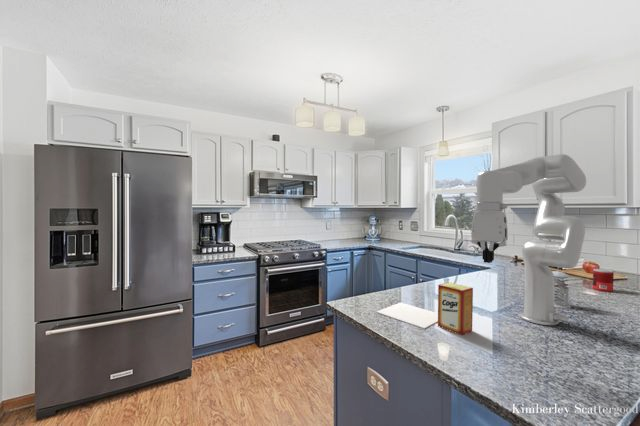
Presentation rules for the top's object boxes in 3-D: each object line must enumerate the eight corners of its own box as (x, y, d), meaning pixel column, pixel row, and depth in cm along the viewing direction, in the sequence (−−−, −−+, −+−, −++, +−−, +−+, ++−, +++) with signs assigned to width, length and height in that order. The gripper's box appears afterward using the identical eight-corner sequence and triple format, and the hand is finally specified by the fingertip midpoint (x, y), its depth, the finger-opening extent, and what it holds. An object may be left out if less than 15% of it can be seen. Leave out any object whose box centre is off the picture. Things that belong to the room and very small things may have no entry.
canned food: (617, 292, 154) (617, 271, 154) (602, 292, 154) (602, 271, 154) (603, 288, 162) (603, 268, 161) (588, 288, 162) (589, 268, 162)
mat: (447, 316, 119) (447, 315, 119) (424, 329, 107) (424, 327, 107) (400, 303, 135) (400, 302, 135) (376, 312, 123) (376, 311, 123)
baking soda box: (437, 326, 110) (438, 283, 109) (447, 322, 113) (448, 281, 113) (462, 335, 102) (462, 289, 101) (472, 330, 105) (472, 286, 105)
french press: (569, 309, 128) (570, 252, 127) (536, 302, 137) (537, 249, 136) (573, 304, 134) (574, 250, 134) (542, 298, 143) (543, 247, 142)
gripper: (518, 208, 95) (517, 264, 95) (470, 207, 106) (469, 258, 107) (511, 208, 90) (509, 267, 90) (461, 207, 101) (460, 260, 102)
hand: (488, 262), depth 99 cm, fingers closed
